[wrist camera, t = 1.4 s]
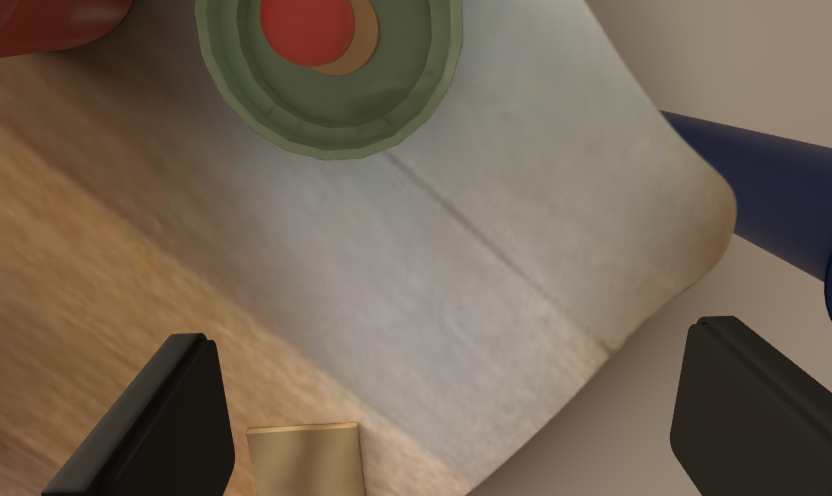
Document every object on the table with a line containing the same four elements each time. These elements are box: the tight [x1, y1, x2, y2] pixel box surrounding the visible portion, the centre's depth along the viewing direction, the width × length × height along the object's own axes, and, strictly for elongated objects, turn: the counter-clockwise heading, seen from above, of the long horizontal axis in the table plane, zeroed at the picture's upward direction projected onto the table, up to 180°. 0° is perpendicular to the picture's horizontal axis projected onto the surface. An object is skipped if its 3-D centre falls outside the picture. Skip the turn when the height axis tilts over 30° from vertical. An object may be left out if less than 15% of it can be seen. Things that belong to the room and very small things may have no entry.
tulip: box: [260, 0, 380, 76], centre depth 26 cm, size 5×5×14 cm
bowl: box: [194, 0, 463, 160], centre depth 31 cm, size 14×14×5 cm
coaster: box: [246, 422, 366, 496], centre depth 45 cm, size 9×9×1 cm
